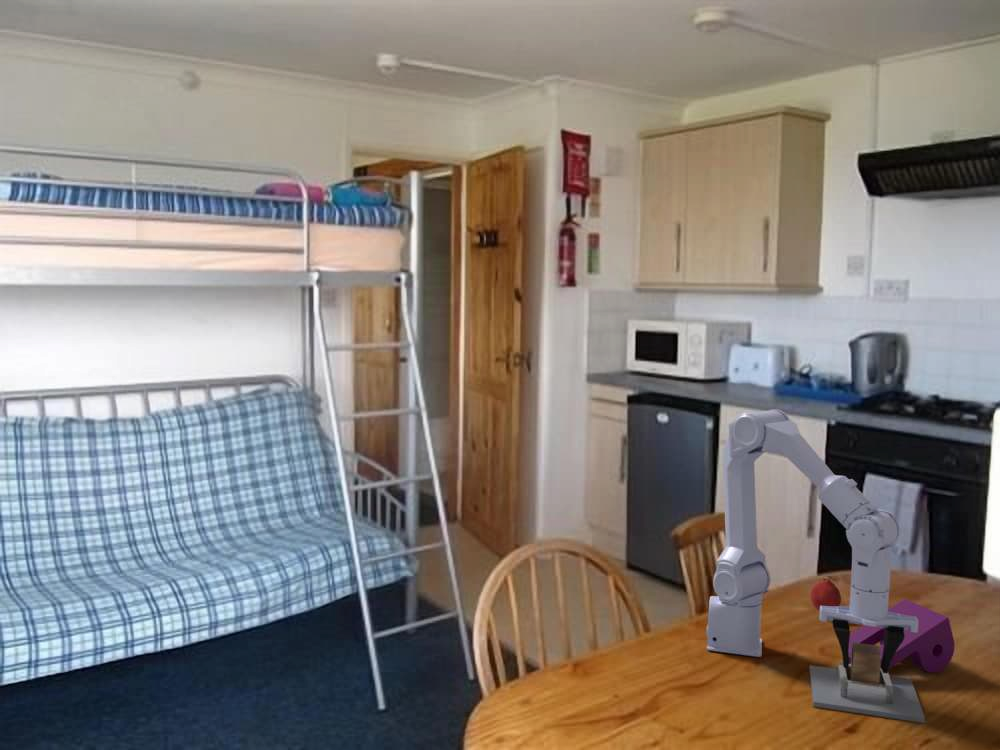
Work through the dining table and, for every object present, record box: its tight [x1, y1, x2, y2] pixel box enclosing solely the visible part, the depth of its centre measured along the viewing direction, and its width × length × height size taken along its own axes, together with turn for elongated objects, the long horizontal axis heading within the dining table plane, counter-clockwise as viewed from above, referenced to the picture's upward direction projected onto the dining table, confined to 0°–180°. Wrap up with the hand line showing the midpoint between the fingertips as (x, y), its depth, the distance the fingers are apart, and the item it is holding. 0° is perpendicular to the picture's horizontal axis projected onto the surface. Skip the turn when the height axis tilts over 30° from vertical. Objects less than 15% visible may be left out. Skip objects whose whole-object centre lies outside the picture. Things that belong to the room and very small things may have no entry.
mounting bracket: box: [848, 598, 956, 673], centre depth 152 cm, size 9×8×18 cm
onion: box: [809, 576, 842, 613], centre depth 175 cm, size 6×6×8 cm
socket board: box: [809, 662, 926, 724], centre depth 141 cm, size 16×14×3 cm
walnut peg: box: [850, 642, 881, 684], centre depth 140 cm, size 4×4×7 cm
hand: (864, 668), depth 140 cm, fingers open, 5 cm apart
